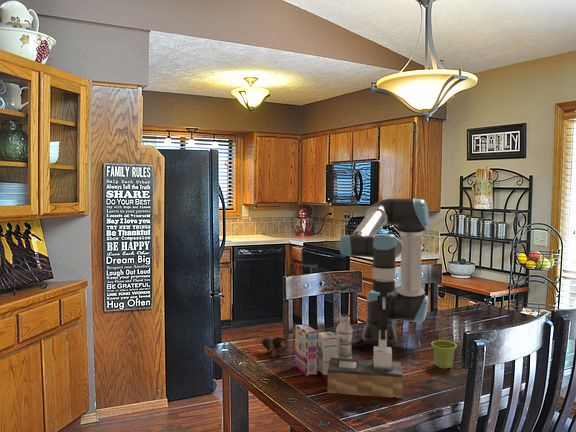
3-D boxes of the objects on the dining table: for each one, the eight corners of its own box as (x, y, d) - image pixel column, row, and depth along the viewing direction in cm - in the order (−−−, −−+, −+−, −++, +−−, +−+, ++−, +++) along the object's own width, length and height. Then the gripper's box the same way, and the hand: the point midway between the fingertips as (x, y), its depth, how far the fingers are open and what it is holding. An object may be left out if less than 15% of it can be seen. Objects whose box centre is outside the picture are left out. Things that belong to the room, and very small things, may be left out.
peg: (373, 367, 176) (373, 346, 175) (390, 368, 175) (391, 347, 174) (373, 373, 170) (373, 351, 169) (391, 374, 169) (391, 352, 168)
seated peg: (339, 381, 178) (339, 361, 178) (356, 382, 177) (356, 362, 177) (338, 388, 172) (338, 367, 172) (355, 389, 171) (356, 368, 171)
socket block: (330, 379, 182) (330, 357, 181) (400, 383, 178) (400, 361, 177) (327, 392, 170) (327, 369, 169) (402, 398, 166) (402, 374, 165)
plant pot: (455, 371, 189) (456, 349, 189) (429, 368, 193) (430, 346, 192) (456, 363, 198) (457, 342, 198) (431, 360, 201) (432, 339, 201)
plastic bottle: (342, 371, 189) (342, 319, 188) (332, 365, 195) (332, 314, 194) (356, 368, 192) (356, 317, 191) (346, 363, 198) (346, 313, 197)
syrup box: (337, 373, 187) (337, 335, 186) (322, 375, 185) (322, 336, 184) (331, 368, 192) (332, 331, 191) (317, 370, 191) (317, 332, 190)
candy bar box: (318, 374, 186) (318, 331, 185) (306, 376, 184) (306, 332, 183) (306, 364, 196) (306, 323, 195) (294, 366, 194) (294, 324, 193)
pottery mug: (291, 351, 213) (293, 338, 208) (282, 368, 205) (284, 354, 201) (264, 342, 216) (266, 328, 211) (256, 357, 208) (257, 344, 204)
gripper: (372, 275, 177) (371, 341, 179) (372, 282, 165) (371, 353, 166) (394, 276, 176) (392, 342, 178) (396, 283, 163) (394, 354, 165)
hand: (382, 347), depth 172 cm, fingers closed
